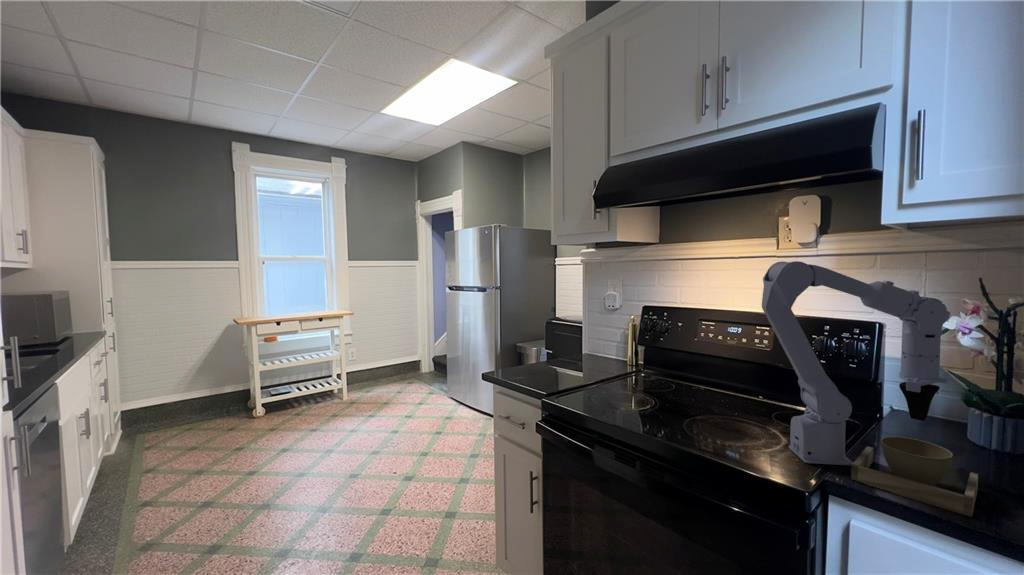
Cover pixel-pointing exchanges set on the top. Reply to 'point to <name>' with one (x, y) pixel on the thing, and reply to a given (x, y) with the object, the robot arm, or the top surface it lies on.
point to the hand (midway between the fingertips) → (918, 419)
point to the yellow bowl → (916, 459)
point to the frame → (915, 486)
